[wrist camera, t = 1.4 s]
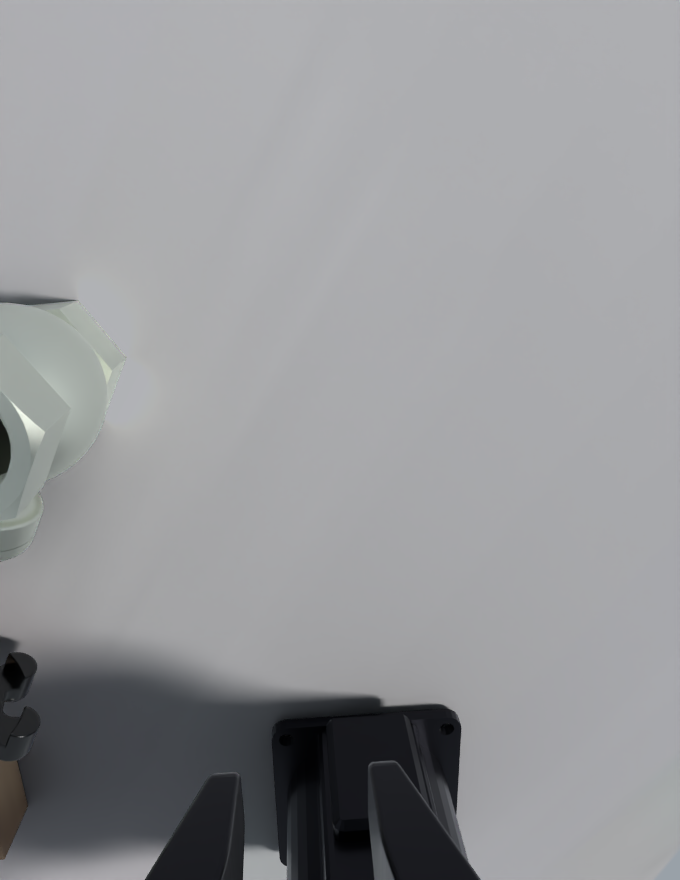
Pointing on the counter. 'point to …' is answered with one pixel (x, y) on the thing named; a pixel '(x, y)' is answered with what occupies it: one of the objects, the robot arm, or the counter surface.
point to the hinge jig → (10, 804)
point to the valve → (43, 444)
